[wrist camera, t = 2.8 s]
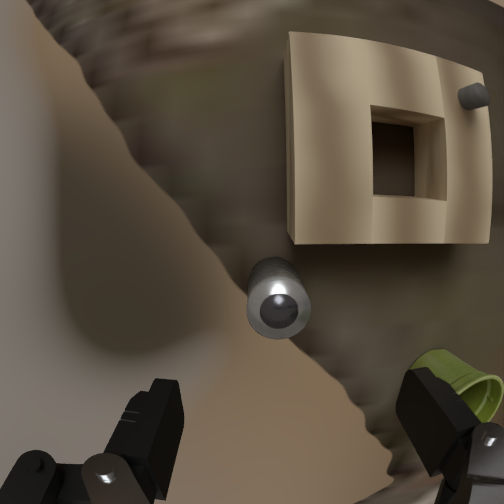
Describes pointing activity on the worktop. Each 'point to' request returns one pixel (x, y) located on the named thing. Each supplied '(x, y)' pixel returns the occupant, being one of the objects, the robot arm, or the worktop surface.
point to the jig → (360, 143)
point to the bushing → (277, 299)
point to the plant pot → (465, 382)
